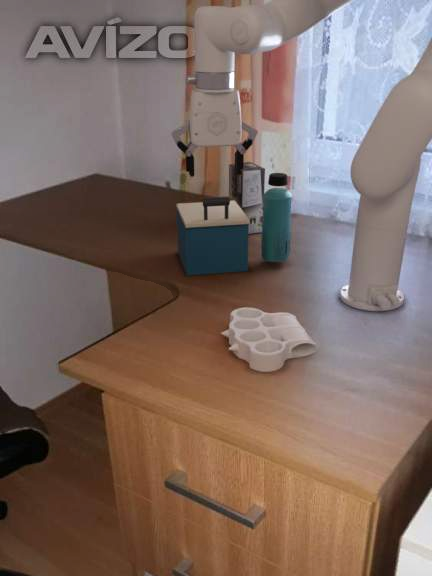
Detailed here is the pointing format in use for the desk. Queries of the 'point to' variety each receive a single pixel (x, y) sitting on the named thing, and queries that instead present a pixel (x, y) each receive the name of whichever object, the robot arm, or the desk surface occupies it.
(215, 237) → the box
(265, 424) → the desk surface
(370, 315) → the desk surface
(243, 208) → the coffee box
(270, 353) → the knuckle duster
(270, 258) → the beverage bottle
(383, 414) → the desk surface
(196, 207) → the cooler lid
